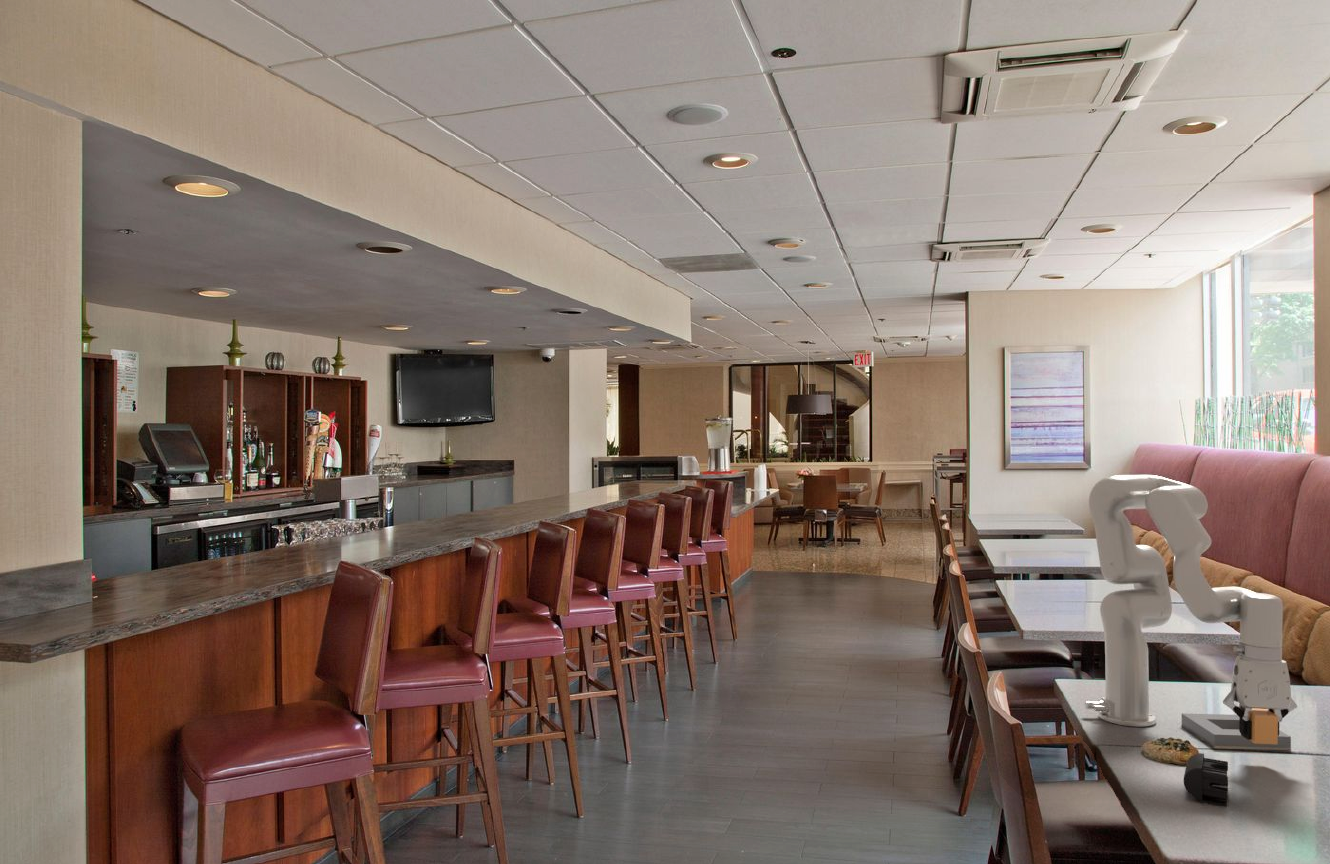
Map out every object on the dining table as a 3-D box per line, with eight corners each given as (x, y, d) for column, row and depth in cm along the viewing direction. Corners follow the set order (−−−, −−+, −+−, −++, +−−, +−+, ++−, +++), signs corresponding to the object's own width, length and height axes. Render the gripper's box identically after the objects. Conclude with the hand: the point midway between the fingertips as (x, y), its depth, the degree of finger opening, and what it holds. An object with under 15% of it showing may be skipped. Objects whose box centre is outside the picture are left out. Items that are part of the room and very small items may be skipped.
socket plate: (1214, 748, 204) (1214, 734, 204) (1181, 726, 220) (1181, 713, 220) (1290, 750, 203) (1290, 736, 203) (1252, 728, 219) (1252, 715, 219)
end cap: (1186, 784, 183) (1186, 750, 183) (1228, 791, 179) (1227, 757, 180) (1183, 801, 175) (1183, 765, 175) (1227, 809, 171) (1226, 772, 171)
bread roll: (1192, 750, 203) (1192, 728, 202) (1207, 774, 192) (1206, 752, 192) (1137, 747, 206) (1136, 726, 206) (1148, 771, 196) (1148, 749, 195)
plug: (1254, 743, 192) (1255, 715, 192) (1241, 734, 198) (1241, 706, 198) (1277, 744, 192) (1278, 716, 192) (1263, 735, 197) (1263, 707, 197)
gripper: (1227, 655, 192) (1225, 742, 192) (1313, 658, 190) (1312, 746, 190) (1209, 646, 199) (1208, 730, 199) (1292, 649, 197) (1291, 734, 198)
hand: (1259, 737), depth 195 cm, fingers closed on plug, 4 cm apart
